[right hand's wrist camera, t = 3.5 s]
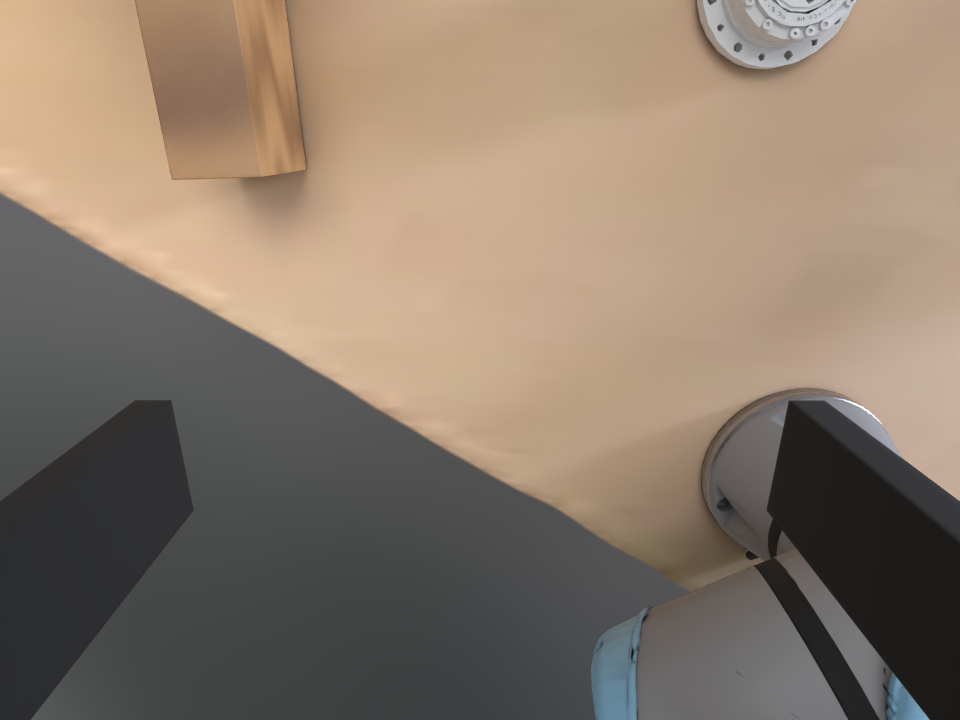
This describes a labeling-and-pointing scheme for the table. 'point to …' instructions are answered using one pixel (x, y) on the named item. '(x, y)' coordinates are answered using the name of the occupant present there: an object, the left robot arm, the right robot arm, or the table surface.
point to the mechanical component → (771, 28)
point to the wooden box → (223, 86)
